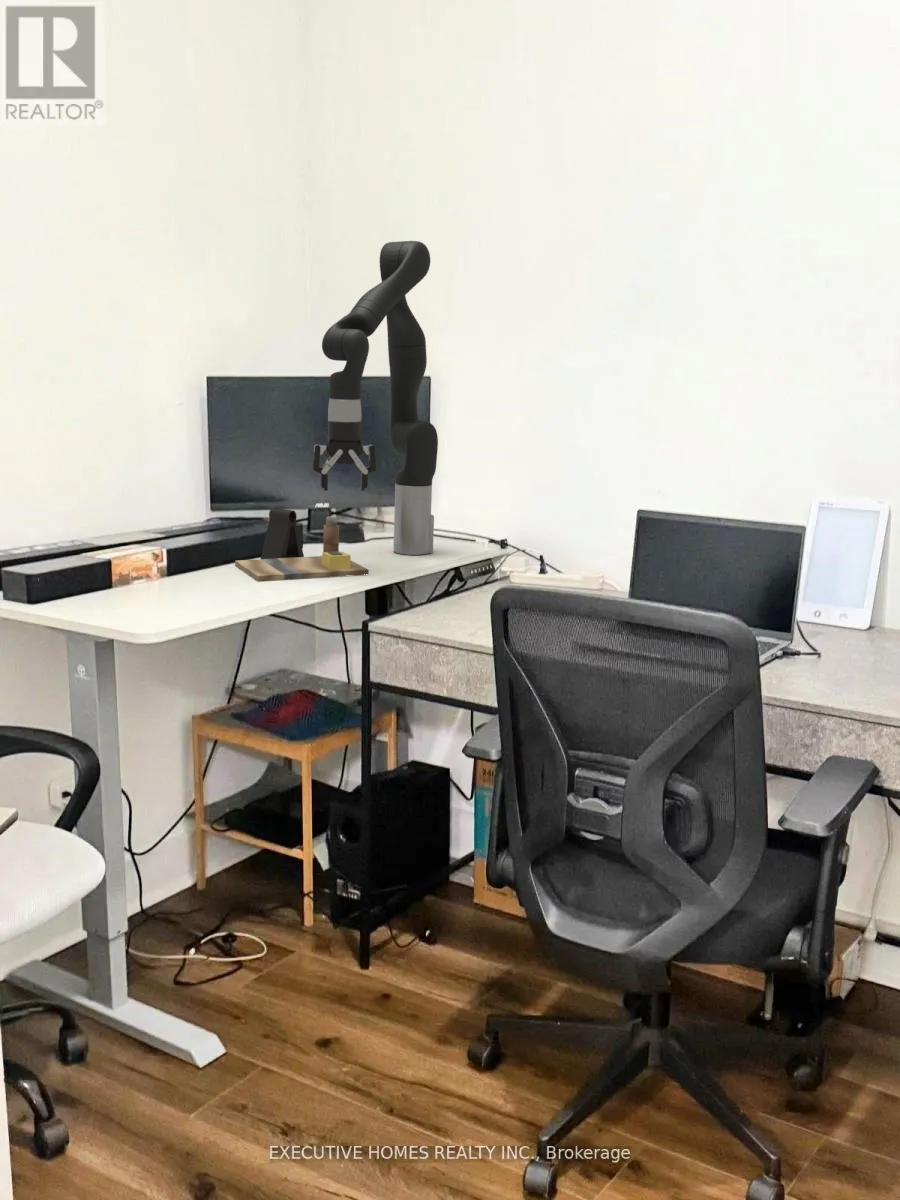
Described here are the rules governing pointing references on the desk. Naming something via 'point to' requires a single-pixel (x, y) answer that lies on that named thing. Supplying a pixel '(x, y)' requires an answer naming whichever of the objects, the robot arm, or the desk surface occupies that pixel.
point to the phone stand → (282, 536)
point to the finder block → (336, 560)
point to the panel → (294, 568)
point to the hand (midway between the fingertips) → (343, 490)
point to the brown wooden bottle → (331, 535)
